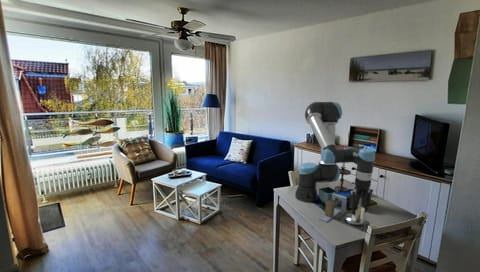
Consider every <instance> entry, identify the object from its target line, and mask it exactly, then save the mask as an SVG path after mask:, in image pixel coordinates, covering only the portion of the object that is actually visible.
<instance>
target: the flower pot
mask: <svg viewBox="0 0 480 272" xmlns="http://www.w3.org/2000/svg"><path fill="white" fill-rule="evenodd" d="M334 193H335V194H338V193H339V191H336V190H335V188H333V187H330V186H326V187H325V186H324V187H321V188H318V198H319V200H320V201H321V203H323V204H324V205H326V200H327V199H332V194H334ZM338 195H339V194H338Z"/></svg>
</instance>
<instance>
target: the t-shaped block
mask: <svg viewBox="0 0 480 272" xmlns="http://www.w3.org/2000/svg"><path fill="white" fill-rule="evenodd" d="M339 199H341V200H342V203H341V204H340V206H341V207H340V206H339V205H338V206H337V207H335V208H334V215H333V216H332V217H329V216H327V215H325V214H324V215H323V216H321V217H320V218H319V220H320V221H321V222H325V223H328V222H329V221H331V220H332V219H333V218H334V217H336V216H337V215H339V214H340V213H342V214H345V213H346V212H348V209H347V202H348V196H344V195H341V194H335V193H334V194H332V200H335V202H336V201H337V200H339Z"/></svg>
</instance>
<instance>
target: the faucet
mask: <svg viewBox="0 0 480 272" xmlns="http://www.w3.org/2000/svg"><path fill="white" fill-rule="evenodd" d="M361 208H362V206H360V205H358V207H357V210H358V213H357V220H356V221H354V220H352V213H346V214H345V215H344V218H345V220H346V221H347V222H348V223H350V224H353V225H363V224H364V223H365V220H366V219H365V218H364V219H363V220H361V219H360V218H361Z"/></svg>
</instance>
